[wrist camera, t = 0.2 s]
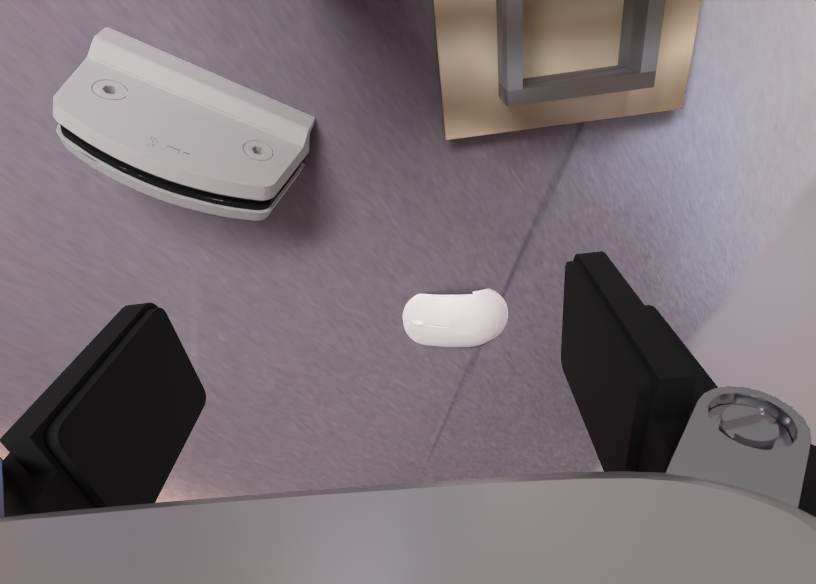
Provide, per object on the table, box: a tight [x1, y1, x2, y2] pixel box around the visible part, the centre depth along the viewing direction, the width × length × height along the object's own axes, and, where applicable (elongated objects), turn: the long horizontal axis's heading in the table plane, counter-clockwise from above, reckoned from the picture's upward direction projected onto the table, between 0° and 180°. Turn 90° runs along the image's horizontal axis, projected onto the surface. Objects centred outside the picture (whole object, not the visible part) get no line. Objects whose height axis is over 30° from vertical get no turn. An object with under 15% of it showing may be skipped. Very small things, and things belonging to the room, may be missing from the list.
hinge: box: [53, 27, 315, 221], centre depth 34 cm, size 17×5×10 cm, turn 67°
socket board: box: [433, 0, 701, 140], centre depth 31 cm, size 15×18×6 cm
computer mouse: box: [403, 288, 508, 347], centre depth 47 cm, size 7×12×2 cm, turn 95°
